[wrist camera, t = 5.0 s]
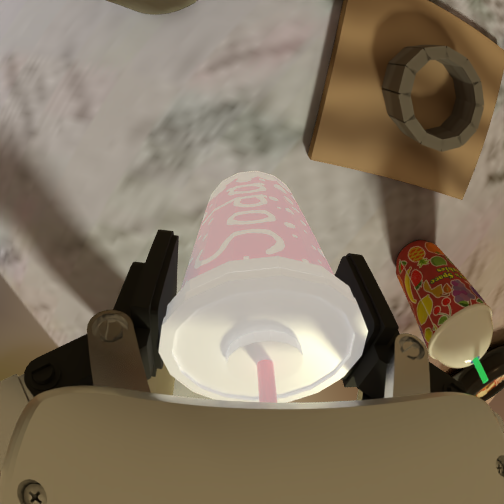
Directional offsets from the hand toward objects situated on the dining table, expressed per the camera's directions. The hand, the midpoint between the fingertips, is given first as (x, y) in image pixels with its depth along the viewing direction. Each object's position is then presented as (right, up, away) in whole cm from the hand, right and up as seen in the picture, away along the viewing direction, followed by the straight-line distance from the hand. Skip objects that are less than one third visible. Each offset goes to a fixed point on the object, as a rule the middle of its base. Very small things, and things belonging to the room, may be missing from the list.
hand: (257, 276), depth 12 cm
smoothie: (+21, 0, +26) cm, 33 cm away
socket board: (+17, +17, +13) cm, 28 cm away
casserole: (+57, -27, +47) cm, 78 cm away
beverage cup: (0, +3, +4) cm, 5 cm away
